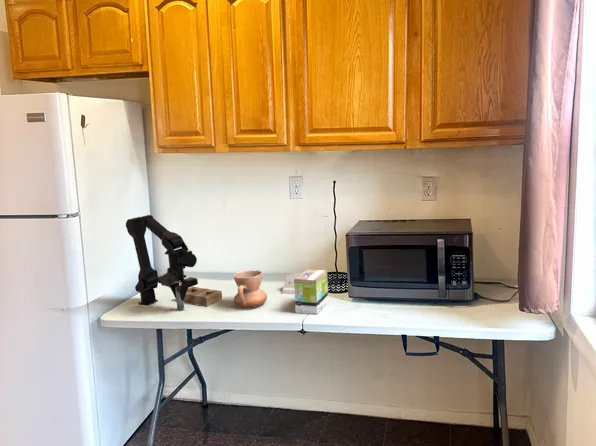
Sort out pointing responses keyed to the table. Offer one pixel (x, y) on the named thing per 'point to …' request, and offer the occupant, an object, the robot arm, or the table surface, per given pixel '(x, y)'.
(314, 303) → the tea box
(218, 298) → the hole block
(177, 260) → the robot arm
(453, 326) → the table surface
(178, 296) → the peg
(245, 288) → the ceramic jug
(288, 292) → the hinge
